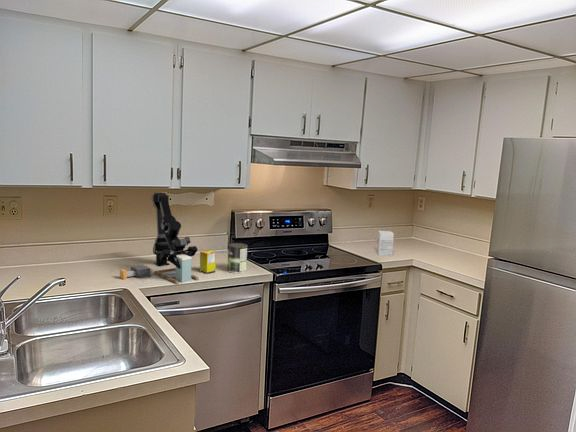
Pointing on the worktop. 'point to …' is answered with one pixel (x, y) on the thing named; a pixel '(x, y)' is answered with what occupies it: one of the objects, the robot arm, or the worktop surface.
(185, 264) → the pale teal box
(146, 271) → the reset housing
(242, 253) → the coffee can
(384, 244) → the supplement box
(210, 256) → the supplement box
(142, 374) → the worktop surface
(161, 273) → the track
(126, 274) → the plunger
